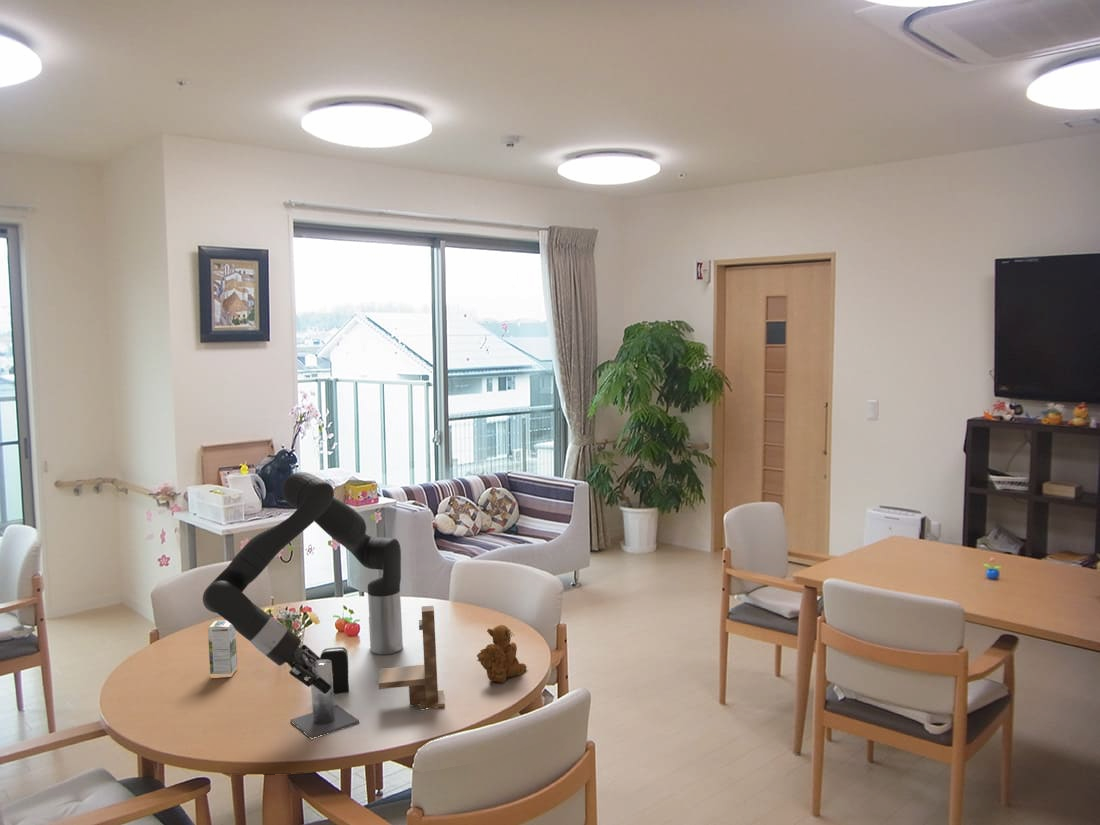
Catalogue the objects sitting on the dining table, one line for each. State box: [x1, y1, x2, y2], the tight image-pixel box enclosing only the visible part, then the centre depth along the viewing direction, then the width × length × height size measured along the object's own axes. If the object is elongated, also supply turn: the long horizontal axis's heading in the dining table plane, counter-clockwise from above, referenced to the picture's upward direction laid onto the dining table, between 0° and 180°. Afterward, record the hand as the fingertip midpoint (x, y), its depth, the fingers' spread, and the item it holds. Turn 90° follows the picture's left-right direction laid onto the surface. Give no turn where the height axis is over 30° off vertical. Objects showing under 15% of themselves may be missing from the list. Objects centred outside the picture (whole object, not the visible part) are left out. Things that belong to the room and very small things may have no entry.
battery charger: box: [319, 646, 350, 694], centre depth 219 cm, size 7×4×11 cm, turn 99°
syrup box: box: [207, 619, 238, 674], centre depth 233 cm, size 6×6×14 cm
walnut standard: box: [378, 605, 446, 711], centre depth 210 cm, size 16×9×24 cm, turn 99°
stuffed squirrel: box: [476, 624, 527, 684], centre depth 225 cm, size 10×14×13 cm
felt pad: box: [290, 704, 360, 738], centre depth 202 cm, size 12×12×1 cm
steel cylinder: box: [310, 659, 335, 725], centre depth 201 cm, size 5×5×14 cm
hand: (329, 684), depth 202 cm, fingers open, 6 cm apart
